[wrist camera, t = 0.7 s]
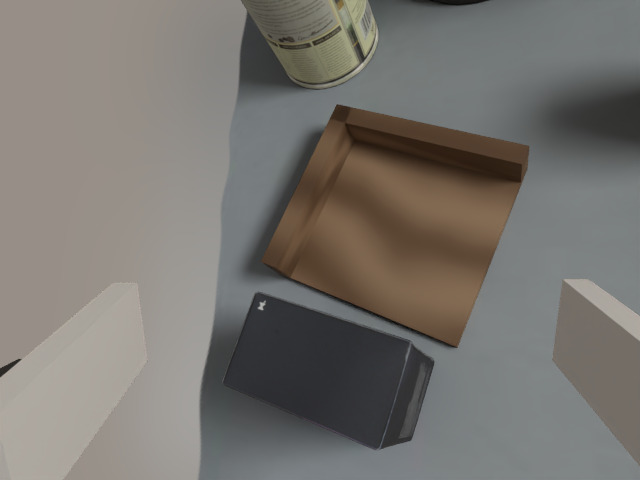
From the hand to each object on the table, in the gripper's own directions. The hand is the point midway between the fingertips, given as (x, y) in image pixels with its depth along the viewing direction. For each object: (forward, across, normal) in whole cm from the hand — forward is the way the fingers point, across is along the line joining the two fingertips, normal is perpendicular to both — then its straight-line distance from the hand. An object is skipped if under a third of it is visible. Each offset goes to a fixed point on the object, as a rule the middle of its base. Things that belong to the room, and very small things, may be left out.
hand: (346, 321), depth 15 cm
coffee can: (+39, -1, +11) cm, 41 cm away
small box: (+19, +1, -14) cm, 24 cm away
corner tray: (+25, +5, -4) cm, 26 cm away
